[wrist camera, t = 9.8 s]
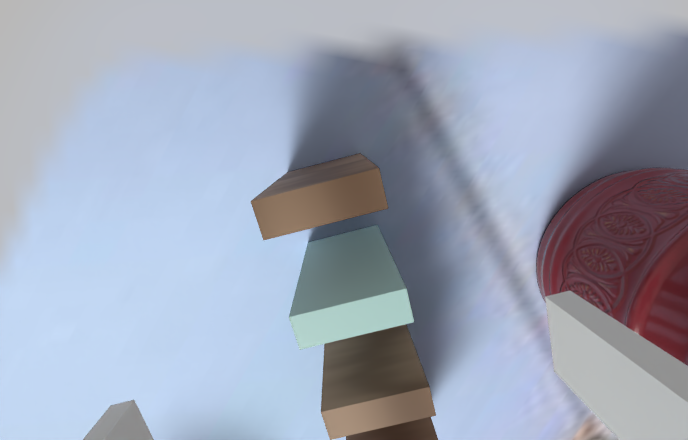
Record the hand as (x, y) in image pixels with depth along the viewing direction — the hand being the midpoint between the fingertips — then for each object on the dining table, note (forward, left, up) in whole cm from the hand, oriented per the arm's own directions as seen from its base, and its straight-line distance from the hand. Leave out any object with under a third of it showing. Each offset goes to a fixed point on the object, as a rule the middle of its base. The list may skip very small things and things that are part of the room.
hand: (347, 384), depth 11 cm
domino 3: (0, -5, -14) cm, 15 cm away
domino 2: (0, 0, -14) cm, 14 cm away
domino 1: (0, +5, -14) cm, 15 cm away
